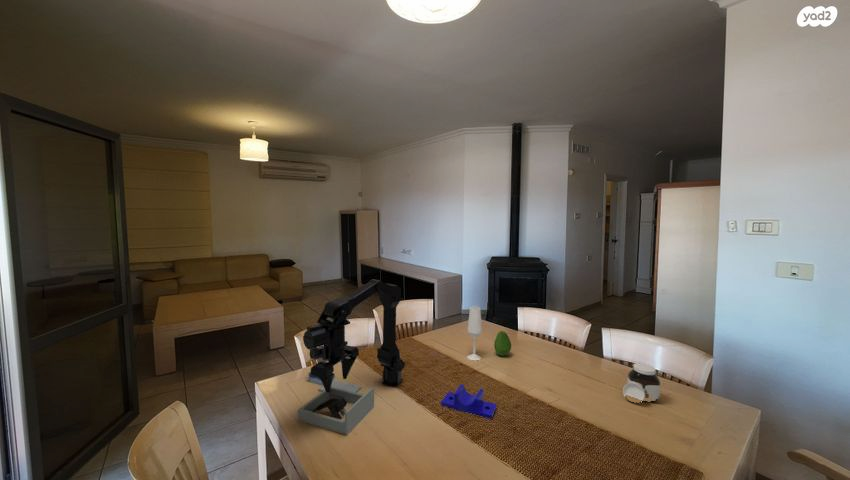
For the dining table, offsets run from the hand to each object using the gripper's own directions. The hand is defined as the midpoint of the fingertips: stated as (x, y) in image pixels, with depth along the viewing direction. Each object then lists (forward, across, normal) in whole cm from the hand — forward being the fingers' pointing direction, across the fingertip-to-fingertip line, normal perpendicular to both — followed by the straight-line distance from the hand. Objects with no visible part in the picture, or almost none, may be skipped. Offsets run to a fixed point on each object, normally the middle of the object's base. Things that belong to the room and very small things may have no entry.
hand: (336, 385), depth 110 cm
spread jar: (+10, -50, +98) cm, 110 cm away
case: (+10, 0, 0) cm, 10 cm away
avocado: (+10, -68, +45) cm, 82 cm away
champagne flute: (+10, -60, +33) cm, 70 cm away
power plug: (+10, +2, -2) cm, 10 cm away
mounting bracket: (+10, -20, +40) cm, 46 cm away
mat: (+10, -13, -8) cm, 18 cm away
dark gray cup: (+9, -16, -19) cm, 27 cm away
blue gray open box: (+10, -16, -19) cm, 27 cm away
